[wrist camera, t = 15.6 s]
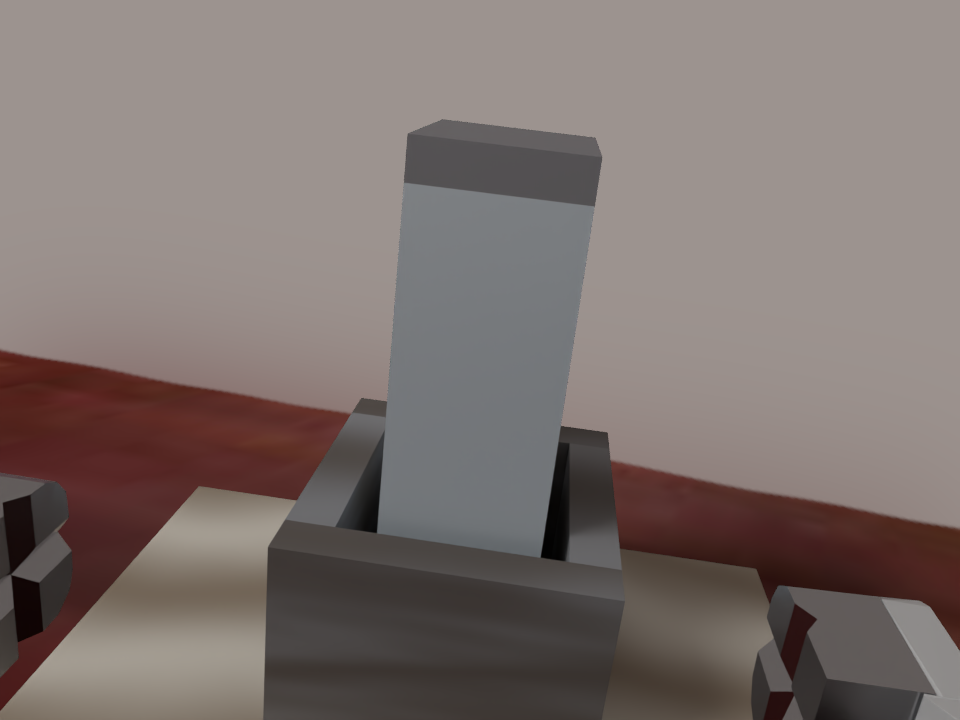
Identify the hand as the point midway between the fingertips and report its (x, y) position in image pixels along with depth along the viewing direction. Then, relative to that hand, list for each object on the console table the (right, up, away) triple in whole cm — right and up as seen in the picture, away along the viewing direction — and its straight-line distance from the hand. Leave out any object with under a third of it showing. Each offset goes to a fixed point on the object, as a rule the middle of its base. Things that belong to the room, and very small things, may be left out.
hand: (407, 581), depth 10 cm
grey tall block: (0, -5, +15) cm, 16 cm away
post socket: (0, -7, +15) cm, 17 cm away
